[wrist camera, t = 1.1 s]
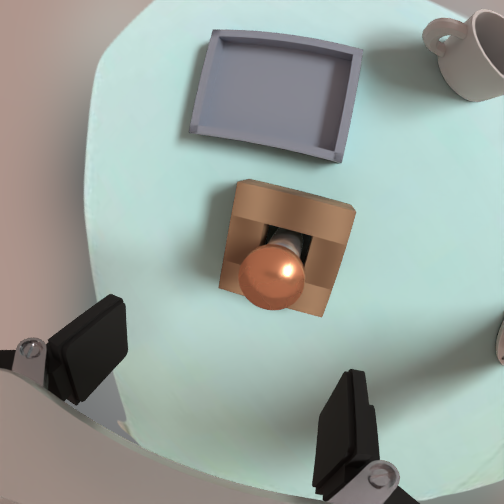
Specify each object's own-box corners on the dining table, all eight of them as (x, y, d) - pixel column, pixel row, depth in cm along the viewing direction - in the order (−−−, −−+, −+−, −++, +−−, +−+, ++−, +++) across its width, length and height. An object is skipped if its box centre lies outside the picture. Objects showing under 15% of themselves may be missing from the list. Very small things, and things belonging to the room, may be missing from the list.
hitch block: (351, 204, 25) (356, 211, 22) (322, 298, 29) (322, 317, 25) (249, 178, 27) (237, 181, 23) (231, 272, 30) (218, 287, 27)
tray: (359, 58, 21) (363, 49, 19) (339, 163, 25) (341, 163, 22) (221, 38, 23) (212, 29, 21) (199, 134, 27) (188, 132, 24)
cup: (488, 114, 19) (537, 104, 10) (408, 74, 20) (440, 42, 12) (491, 60, 16) (532, 38, 8) (413, 20, 18) (439, -20, 9)
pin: (315, 225, 27) (312, 258, 18) (304, 266, 28) (294, 317, 19) (271, 213, 28) (244, 240, 18) (261, 255, 29) (233, 299, 20)
